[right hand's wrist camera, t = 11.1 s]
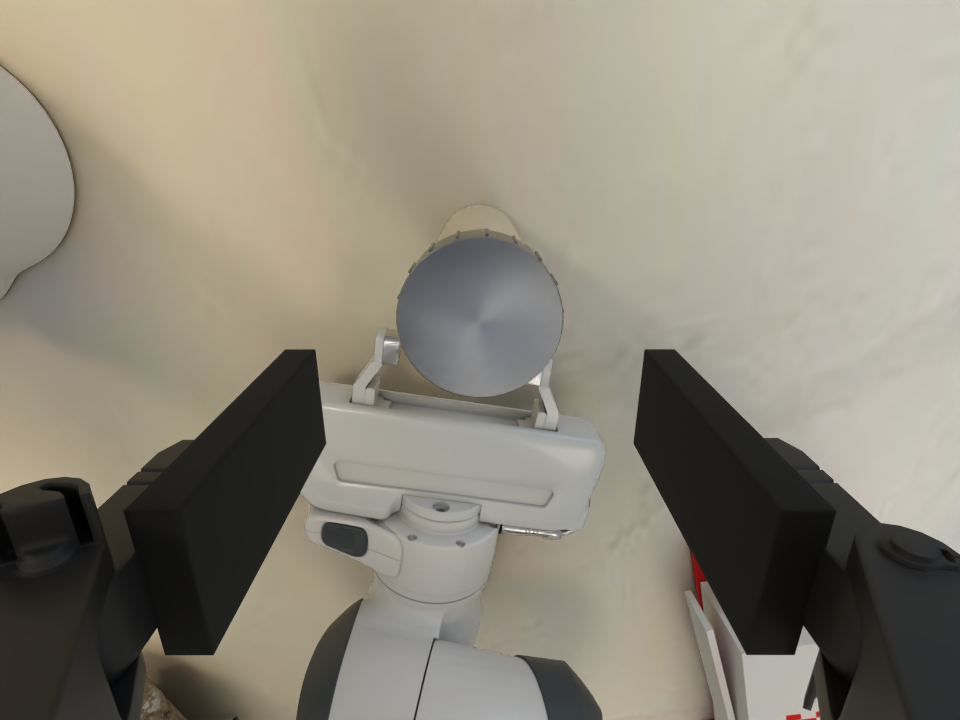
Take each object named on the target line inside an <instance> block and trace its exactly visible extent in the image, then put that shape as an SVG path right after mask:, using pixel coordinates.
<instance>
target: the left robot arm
mask: <svg viewBox="0 0 960 720" xmlns="http://www.w3.org/2000/svg"><path fill="white" fill-rule="evenodd" d="M73 208H74V180H73V174H72V169H71V165H70V161H69V158H68V155H67V152H66V149H65V146H64V144H63V142H62V139H61V137H60V135H59V133H58V131H57V129H56V128H55V126H54V124H53V122H52V121H51V119H50V118H49V116H48V115H47V113H46V112H45V110H44V109H43V108H42V106H41V105H40V104H39V102H38V101H37V100H36V99H35V98H34V96H33V95H32V94H31V93H30V92H29V91H28V90H27V89H26V88H25V87H24V86H23V85H22V84H21V83H20V82H19V81H18V80H17V79H16V78H14V77H13V76H12V75H11V74H10V73H8V72H7V71H6V70H5V69H3V68H2V67H1V66H0V299H1V298H2V297H3V296H4V295H5V294H6V293H7V291H8V290H9V288H10V287H11V285H12V283H13V281H14V280H15V278H16V276H17V275H18V274H19V273H21V272H22V271H24V270H25V269H27V268H29V267H31V266H33V265H35V264H36V263H38V262H40V261H42V260H43V259H45V258H46V257H47V256H48V255H50V254H51V253H52V252H53V251H54V250H55V249H56V247H57V246H58V245H59V244H60V242H61V241H62V239H63V238H64V236H65V234H66V232H67V230H68V228H69V225H70V222H71V218H72V214H73ZM401 348H402V345H401V342H400V339H399V335H398V330H392V329H388V328H379V330H378V332H377V335H376V340H375V349H374V356H373V357H372V358H371V359H370V361H369V362H368V363H367V364H366V366H365V367H364V368H363V369H362V371H361V372H360V374H359V375H358V377H357V379H356V381H355V383H354V385H348V384H341V383H334V382H327V381H319V386H320V394H321V402H322V411H323V419H324V428H325V436H326V445H325V447H324V449H323V451H322V453H321V455H320V456H319V458H318V460H317V462H316V464H315V466H314V468H313V470H312V471H311V473H310V475H309V477H308V479H307V481H306V483H305V485H304V486H303V488H302V490H301V494H302V495H303V497H304V498H305V499H306V500H307V501H308V502H309V503H311V505H310V507H309V510H308V514H307V518H306V522H305V535H306V537H307V538H308V539H309V540H310V541H312V542H314V543H316V544H318V545H320V546H323V547H326V548H328V549H331V550H333V551H336V552H338V553H341V554H343V555H345V556H348V557H350V558H352V559H354V560H356V561H359V562H361V563H363V564H364V565H366V566H368V567H370V568H372V569H373V572H374V580H373V582H372V584H371V586H370V588H369V592H368V595H367V599H363V598H362V599H360V600H358V601H357V602H355V603H354V604H353V605H351V606H350V607H349V608H348V609H347V610H346V611H345V612H344V613H343V614H341V615H340V616H339V617H338V618H337V619H336V620H335V621H334V622H333V623H332V624H331V625H330V626H329V628H328V629H327V630H326V632H325V633H324V635H323V636H322V638H321V640H320V641H319V643H318V645H317V647H316V649H315V651H314V653H313V656H312V658H311V660H310V663H309V666H308V668H307V671H306V674H305V678H304V681H303V685H302V689H301V694H300V699H299V704H298V710H297V717H296V720H602V712H601V709H600V708H599V706H598V704H597V702H596V701H595V699H594V697H593V696H592V694H591V693H590V691H589V690H588V689H587V687H586V686H585V684H584V683H583V682H582V681H581V679H580V678H579V677H578V676H577V674H576V673H575V672H574V671H573V670H572V669H571V668H570V666H569V665H568V664H567V663H566V662H564V661H561V660H553V659H545V658H538V657H530V656H522V655H516V656H510V655H506V654H502V653H497V652H493V651H488V650H484V649H479V648H475V647H474V644H475V640H476V636H477V632H478V628H479V624H480V619H481V613H482V600H481V594H480V593H481V592H482V590H483V589H484V587H485V585H486V583H487V581H488V579H489V575H490V572H491V567H492V562H493V557H494V553H495V548H496V543H497V537H498V534H500V533H503V534H510V535H518V536H528V535H529V536H537V537H542V538H544V539H550V540H557V539H560V538H561V536H562V535H568V534H572V533H574V532H576V531H579V530H581V529H582V527H583V526H584V524H585V521H586V517H587V514H588V510H589V507H590V496H591V494H592V492H593V490H594V487H595V485H596V483H597V480H598V478H599V475H600V472H601V470H602V467H603V464H604V461H605V456H606V451H605V446H604V443H603V440H602V438H601V436H600V434H599V432H598V431H597V429H596V427H595V426H594V425H593V423H592V422H591V421H590V420H589V419H586V418H580V417H573V416H566V415H559V412H558V409H557V406H556V403H555V399H554V397H553V394H552V391H551V388H550V386H549V379H550V374H551V370H552V363H553V358H551V360H550V361H549V363H548V364H547V365H546V367H545V368H544V369H543V370H542V371H541V372H540V373H539V374H538V375H537V376H536V377H535V378H534V379H532V380H531V381H530V382H528V383H527V384H531V385H537V387H538V389H539V392H540V395H541V397H542V399H538V398H536V399H534V404H533V408H532V411H531V410H524V409H517V408H510V407H502V406H495V405H488V404H481V403H474V402H467V401H460V400H453V399H446V398H439V397H432V396H425V395H418V394H411V393H404V392H397V391H390V390H383V389H380V379H381V377H380V376H378V375H375V374H376V373H377V372H378V371H379V369H380V368H381V367H382V365H383V364H384V363H385V364H393V365H397V363H398V360H399V358H400V356H401Z"/></svg>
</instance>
